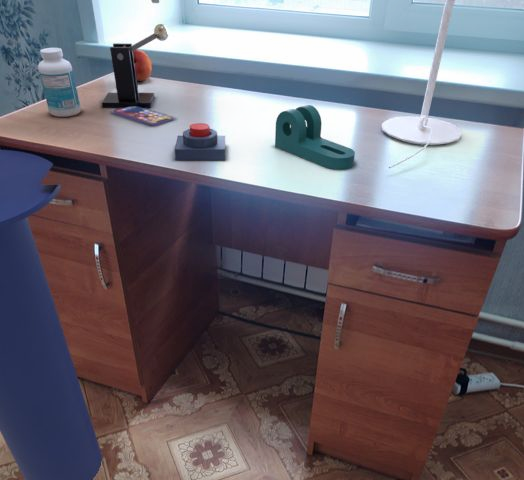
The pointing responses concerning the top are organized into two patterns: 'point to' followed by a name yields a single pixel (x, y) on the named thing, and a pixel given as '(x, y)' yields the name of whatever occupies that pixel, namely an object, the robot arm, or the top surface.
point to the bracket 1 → (125, 81)
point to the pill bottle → (58, 83)
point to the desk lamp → (426, 106)
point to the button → (199, 130)
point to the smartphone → (143, 115)
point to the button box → (200, 147)
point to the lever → (152, 37)
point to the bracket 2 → (310, 139)
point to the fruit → (142, 65)
